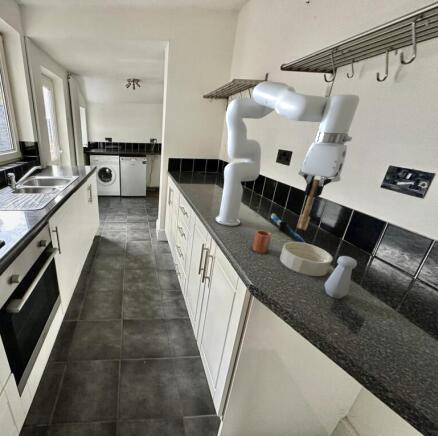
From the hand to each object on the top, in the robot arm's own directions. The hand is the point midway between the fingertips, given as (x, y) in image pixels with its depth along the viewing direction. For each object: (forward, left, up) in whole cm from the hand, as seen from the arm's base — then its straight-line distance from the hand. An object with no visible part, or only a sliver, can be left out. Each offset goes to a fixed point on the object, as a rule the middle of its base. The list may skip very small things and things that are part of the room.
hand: (311, 195), depth 79 cm
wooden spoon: (0, 0, -13) cm, 13 cm away
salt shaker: (+19, +2, -27) cm, 33 cm away
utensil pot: (-8, -8, -27) cm, 29 cm away
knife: (-25, +14, -27) cm, 39 cm away
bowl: (+3, +3, -27) cm, 27 cm away
